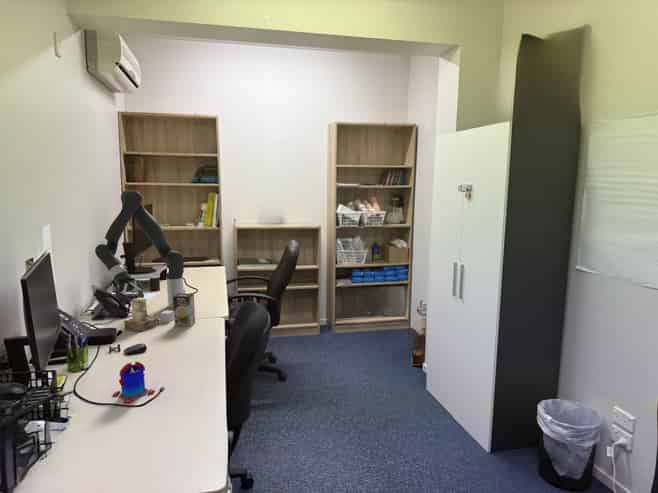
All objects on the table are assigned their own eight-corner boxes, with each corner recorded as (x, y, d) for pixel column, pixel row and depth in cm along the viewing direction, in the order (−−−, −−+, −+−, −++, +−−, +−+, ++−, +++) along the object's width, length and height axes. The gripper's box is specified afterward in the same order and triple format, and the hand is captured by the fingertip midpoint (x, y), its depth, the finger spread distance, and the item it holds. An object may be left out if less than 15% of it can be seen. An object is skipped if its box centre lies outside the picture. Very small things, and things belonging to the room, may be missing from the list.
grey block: (166, 319, 242) (165, 310, 241) (174, 319, 241) (173, 310, 240) (160, 322, 237) (160, 313, 237) (169, 322, 236) (168, 313, 235)
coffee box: (174, 326, 230) (172, 296, 228) (179, 322, 237) (177, 293, 234) (191, 326, 229) (189, 296, 227) (196, 322, 236) (194, 293, 233)
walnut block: (143, 322, 237) (143, 315, 236) (156, 326, 231) (156, 318, 230) (124, 328, 228) (124, 320, 227) (137, 332, 222) (137, 324, 221)
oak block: (141, 317, 232) (140, 297, 230) (147, 319, 229) (145, 298, 227) (132, 320, 228) (131, 299, 226) (138, 322, 225) (137, 301, 223)
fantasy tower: (141, 383, 167) (138, 353, 166) (157, 392, 160) (155, 361, 158) (109, 395, 158) (106, 363, 157) (125, 405, 151) (122, 372, 149)
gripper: (109, 273, 225) (125, 298, 221) (135, 268, 237) (150, 291, 233) (104, 282, 229) (120, 307, 225) (130, 276, 241) (145, 300, 236)
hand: (135, 299), depth 229 cm, fingers open, 8 cm apart
